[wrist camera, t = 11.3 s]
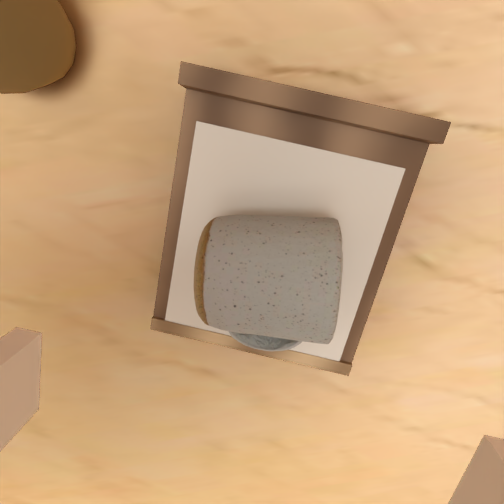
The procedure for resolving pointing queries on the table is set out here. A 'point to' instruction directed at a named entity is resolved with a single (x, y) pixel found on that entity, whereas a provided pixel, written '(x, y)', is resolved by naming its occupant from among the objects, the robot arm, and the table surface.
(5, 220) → the table surface
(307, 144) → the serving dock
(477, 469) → the robot arm
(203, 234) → the ceramic mug
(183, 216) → the mat
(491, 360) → the table surface
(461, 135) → the table surface
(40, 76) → the squeeze bottle
